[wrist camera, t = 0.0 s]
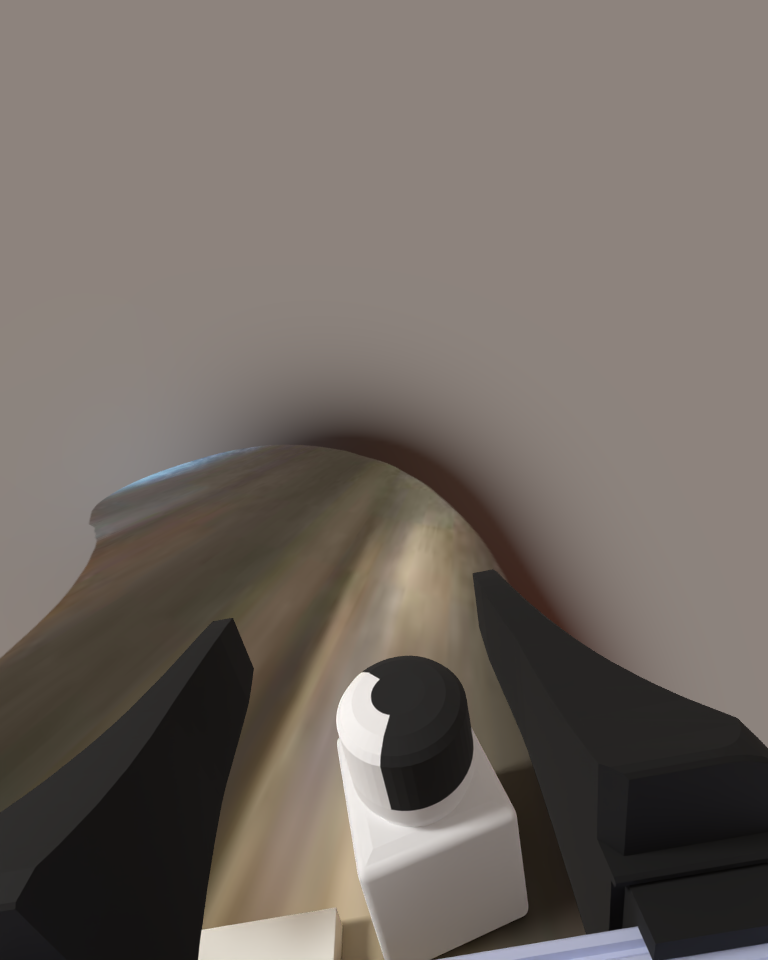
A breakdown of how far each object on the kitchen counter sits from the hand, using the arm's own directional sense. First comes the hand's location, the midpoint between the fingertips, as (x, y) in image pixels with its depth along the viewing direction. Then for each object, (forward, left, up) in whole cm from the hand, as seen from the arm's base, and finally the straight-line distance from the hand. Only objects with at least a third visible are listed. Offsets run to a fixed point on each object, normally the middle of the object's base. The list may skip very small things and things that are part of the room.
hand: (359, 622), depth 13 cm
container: (+6, 0, -22) cm, 23 cm away
